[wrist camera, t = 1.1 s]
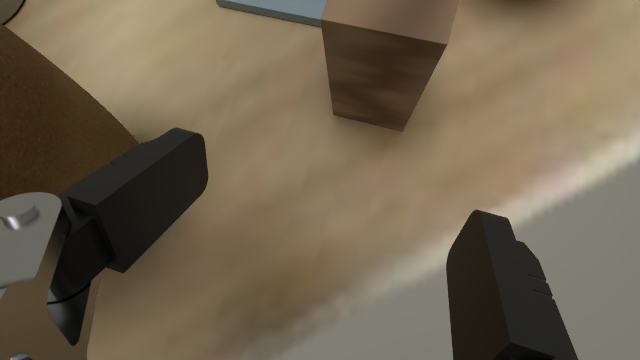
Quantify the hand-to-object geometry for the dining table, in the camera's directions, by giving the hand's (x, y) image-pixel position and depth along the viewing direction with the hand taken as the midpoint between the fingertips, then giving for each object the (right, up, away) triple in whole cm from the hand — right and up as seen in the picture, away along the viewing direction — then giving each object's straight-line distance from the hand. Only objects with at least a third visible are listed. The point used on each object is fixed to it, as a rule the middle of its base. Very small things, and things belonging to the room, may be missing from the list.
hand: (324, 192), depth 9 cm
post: (+5, +8, +17) cm, 20 cm away
